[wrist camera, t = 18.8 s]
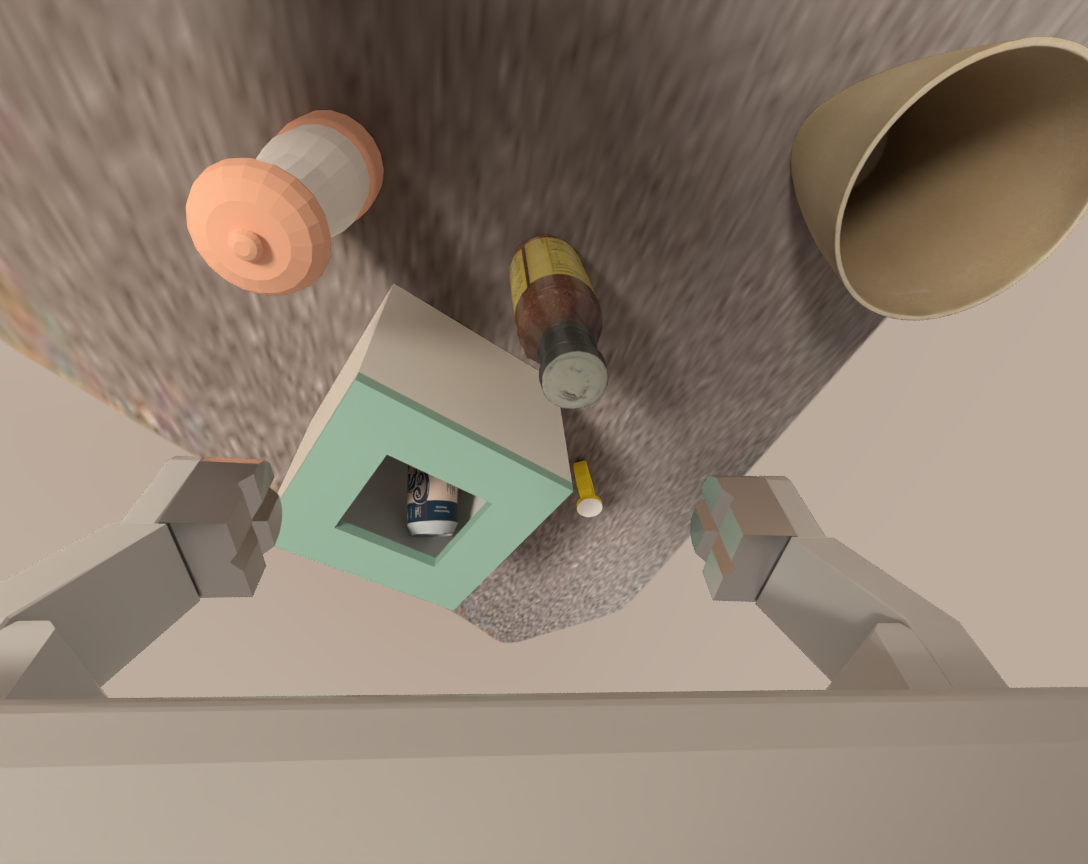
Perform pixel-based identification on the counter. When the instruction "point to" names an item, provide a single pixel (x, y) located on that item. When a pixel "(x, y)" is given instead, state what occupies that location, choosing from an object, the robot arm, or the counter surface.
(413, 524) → the beer can
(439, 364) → the recycling bin
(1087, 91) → the plant pot
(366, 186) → the pepper shaker
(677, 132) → the counter surface
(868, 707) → the robot arm
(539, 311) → the sauce bottle
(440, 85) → the counter surface
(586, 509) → the watch
